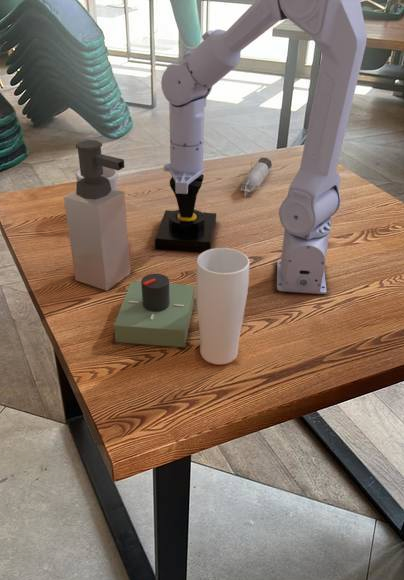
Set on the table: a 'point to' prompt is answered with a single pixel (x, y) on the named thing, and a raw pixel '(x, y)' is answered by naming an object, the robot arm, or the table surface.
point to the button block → (186, 232)
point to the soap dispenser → (97, 221)
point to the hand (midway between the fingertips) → (186, 215)
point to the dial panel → (155, 318)
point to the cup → (107, 173)
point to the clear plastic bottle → (256, 175)
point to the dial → (155, 292)
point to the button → (186, 218)
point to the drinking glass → (221, 302)
